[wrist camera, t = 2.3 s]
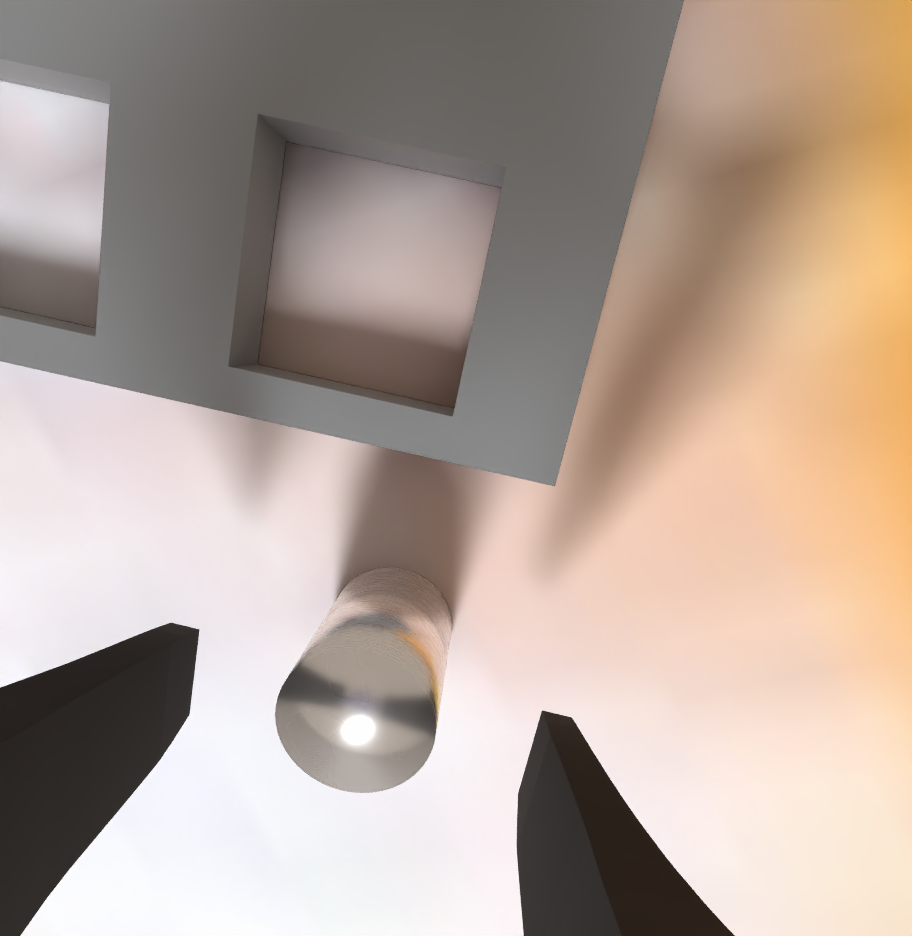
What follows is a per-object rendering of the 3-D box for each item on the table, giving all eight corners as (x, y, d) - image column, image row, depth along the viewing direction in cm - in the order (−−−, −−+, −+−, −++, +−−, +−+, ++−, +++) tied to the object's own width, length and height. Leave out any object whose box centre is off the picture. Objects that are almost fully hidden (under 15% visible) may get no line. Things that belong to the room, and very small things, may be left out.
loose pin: (324, 662, 15) (265, 772, 11) (343, 555, 14) (287, 633, 10) (438, 688, 15) (418, 808, 11) (463, 582, 14) (451, 671, 10)
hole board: (-152, 313, 14) (-227, 310, 12) (-185, -559, 10) (-299, -709, 9) (548, 470, 13) (555, 486, 12) (770, -379, 10) (817, -505, 8)
